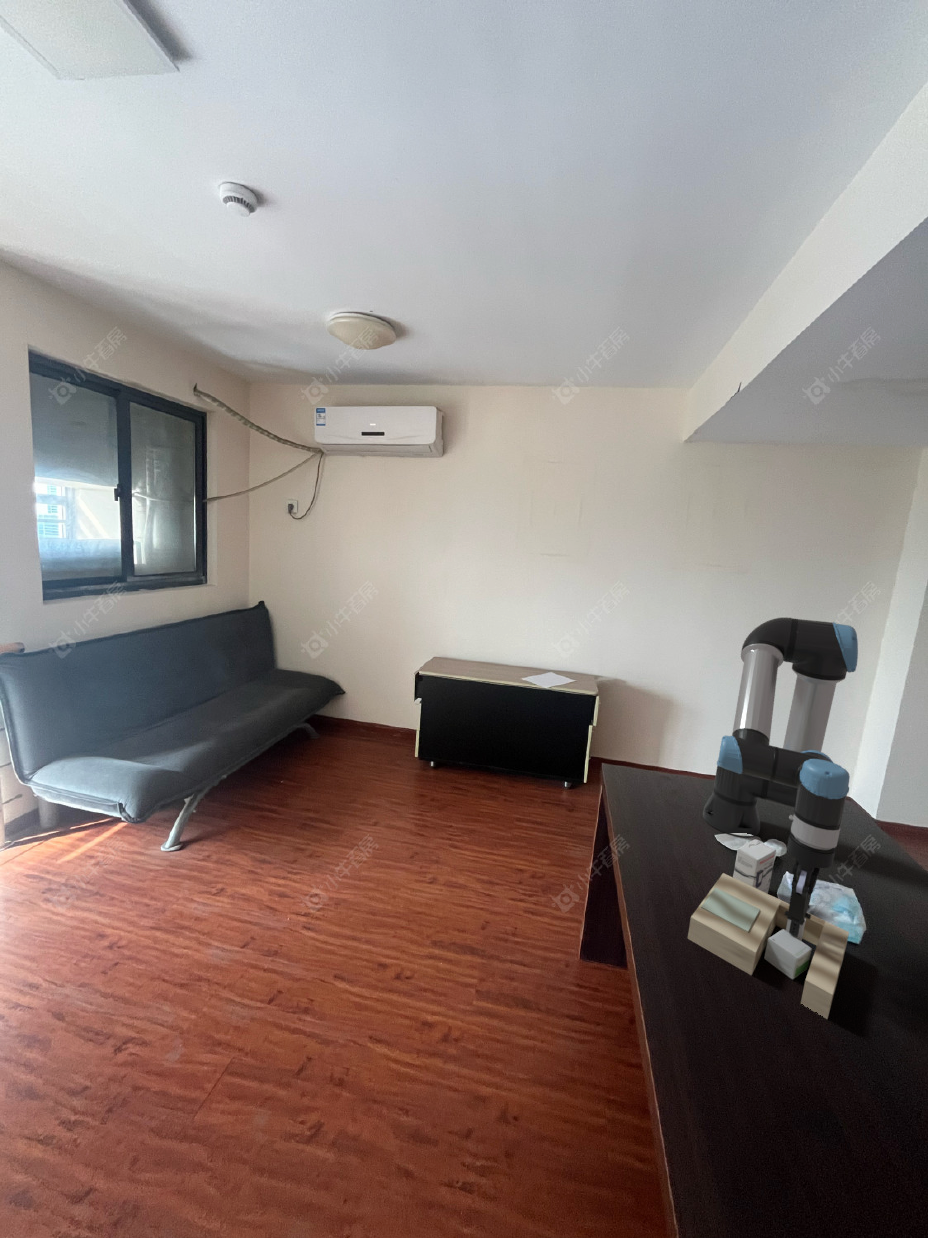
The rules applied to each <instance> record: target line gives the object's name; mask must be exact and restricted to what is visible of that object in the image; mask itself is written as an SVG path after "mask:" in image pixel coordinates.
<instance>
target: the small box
mask: <svg viewBox="0 0 928 1238" xmlns="http://www.w3.org/2000/svg"><path fill="white" fill-rule="evenodd" d="M812 950H813V948H812V947H810V946H809V945H808V944H806V943H804V942H803V941H800V940H799V939H797V938H796V937H794V936H793V935H791V934H790V933H788V932H787V931H786V930H784V929H782V928H781V930H779V931H778V932H776V933H775V934H773V935H772V936H770V938H768V942H767V944H766V946H765V953H764V960H766V961H767V962H768V963H769V964H771V965H772V966H773V967H775V968H776V969H777V970H779V971H780V972H781V973H783V974H784V975H786V976H787V977H788V978H789V979H791V980H794V979H795V978H797V977H799V975H801V974H803V973H804V972H805V971H806V970H808V968H809V964H810V959H811V954H812Z"/></svg>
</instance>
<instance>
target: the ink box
mask: <svg viewBox="0 0 928 1238" xmlns="http://www.w3.org/2000/svg"><path fill="white" fill-rule="evenodd" d="M776 851H777V850H776V849H774V848H773V847H771V846H769V845H768V844H765V843H764V842H762V841H760V840H759V839H753V840H751V841H749V842H746V843H745V844H743V845H742V846H740V847H738V848H737V851H736V852H737V853H736V859H735V863H734V870H733V874H732V877H733V878H735V879H737V880H739V881H741V882H743V883H746V884H748V885H750V886H752V887H754V888H756V889H758V890H761V891H763V892H765V893H767V894H768V893H769V890H770V889H769V888H770V885H771V879H772V876H773V869H774V864H775V857H776Z"/></svg>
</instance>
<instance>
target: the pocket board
mask: <svg viewBox="0 0 928 1238" xmlns="http://www.w3.org/2000/svg"><path fill="white" fill-rule="evenodd" d="M789 905H790V903H788V902H786V901H784V900H783V899H782V900H781V899H780V898H777V897H775V896H773V895H770V894H767V893H765V892H763V891H761V890H758V889H756V888H754V887H752V886H750V885H748V884H746V883H743V882H741V881H739V880H737V879H735V878H733V876H731V875H728V874H726V873H724V872H723V873H722V874H721V875H720V877H719V878H718V879H717V881H716V882H715V883H714V885H713V886H712V888H711V889H710V890H709V892H708V893H707V894H706V896H705V897H704V899H703V900H702V901H701V903H700V904H699V905H698V907H697V908H696V909H695V910H694V912H693V913H692V914H691V916H690V919H689V920H690V921H689V928H688V934H687V939H688V940H689V941H691V942H693V943H695V944H696V945H698V946H699V947H701V948H703V949H705V950H707V951H709V952H710V953H712V954H713V955H715V956H716V957H719V958H721V959H722V960H724V961H726V962H727V963H729V964H731V965H732V966H735V967H736V968H738V969H739V970H741V971H743V972H745V973H747V974H748V975H749V976H752V975H753V974H754V971H755V970H756V966H757V965H758V963H759V961H760V959H761V956H762V954H763V952H764V951H765V949H766V947H767V942H768V938H770V937H771V935H772V934H773V931H774V929H775V927H776V926H777V927H778V928H780V929H781V930H782V929H784V930H785V931H786V927H787V922H788V919H787V916H786V915H784V914H785V911H789ZM807 913H808V914H810V915H811V918H810V919H808V918H806V917H805V919H806V921H805V927H804V932H803V937H802V940H804V941H806V942H808V943H810V944H812V945H814V946H815V947H816V948H815V951H814V954H813V956H812V959H811V962H810V965H809V967H808V968H809V969H808V971H807V975H806V978H805V980H804V985H803V990H802V994H801V1000H800V1005H801V1004H803V1005H804V1006H803V1005H802V1006H803V1007H805V1008H807V1007H808V1008H809V1009H808V1008H807V1009H808V1010H810V1009H811V1010H810V1011H812V1012H814V1013H815V1012H817V1013H818V1014H817V1013H816V1014H817V1015H819V1016H820V1015H821V1017H822V1016H823V1017H822V1018H824V1019H826V1020H828V1018H829V1015H830V1010H831V1008H832V1007H831V1006H832V1005H833V1004H832V1003H833V1000H834V995H835V992H836V988H837V984H838V980H839V976H840V971H841V967H842V965H843V962H844V961H843V960H844V957H845V952H846V948H847V945H848V940H849V935H850V932H849V931H848V930H845V929H843V928H841V927H839V926H837V925H835V924H833V923H831V922H829V921H827V920H824V919H822V918H820V917H818V916H816V915H813V914H812V913H809V912H807Z"/></svg>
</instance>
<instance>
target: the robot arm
mask: <svg viewBox="0 0 928 1238" xmlns="http://www.w3.org/2000/svg"><path fill="white" fill-rule="evenodd" d="M858 642H859V641H858V635H857V631H856V629H855V628H854V627H853V626H851V625H848V624H841V623H836V622H835V621H834V622H831V621H821V620H820V621H819V620H810V619H801V618H799V619H798V618H792V617H777V618H773V619H769V620H767V621H765V622H763V623H761V624H760V625H758V626H756V627H755V628H754V629H753V630H752V631H751V632H750V633H749V634H748V635H747V637H746V638H745V640H744V642H743V644H742V648H741V650H740V658H741V660H742V662H743V665H742V666H743V667H742V673H741V677H740V678H741V679H740V684H739V689H738V690H739V691H738V697H737V702H736V708H735V709H736V710H735V715H734V716H735V717H734V721H733V728H732V733H731V735H723V736H722V737H721V742H720V748H719V754H718V758H717V761H716V765H717V767H716V772H715V778H714V784H713V788H712V789H713V790H712V793H711V795H710V796H709V798H708V800H707V801H706V803H705V805H704V807H703V811H702V818H703V820H704V821H705V822H706V823H707V824H708V825H709V826H711V827H713V828H714V829H715V830H718V831H720V832H723V833H725V834H728V833H747V834H752V835H755V836H754V837H756V836H758V835H759V833H760V829H761V820H760V816H759V810H758V805H757V804H758V799H761V800H765V801H768V802H773V803H776V804H779V805H783V806H787V807H790V808H794V809H793V814H789V816H788V818H789V820H791V821H792V822H791V825H790V833H789V834H788V839H787V846H786V849H787V850H786V851H787V852H788V854H789V855H790V856H791V857H793V859H795V860H796V861H795V863H794V864H793V866H792V867H793V868H792V874H793V876H792V881H791V885H790V886H791V893H790V898H789V899H790V900H789V904H790V905H789V911H785V914H784V915H786V916H787V919H788V922H787V927H786V930H785V931H787V932H788V933H790V934H791V935H793V936H794V937H796V938H797V939H799V940H800V941H802V940H803V939H802V937H803V932H804V927H805V921H806V919H805V917H806V918H808V919H810V918H811V915H810V914H811V913H809V912H808V910H809V909H810V908H811V907H810V903H811V898H812V894H813V892H814V889H815V887H816V884H817V881H818V877H819V876H820V872H821V870H823V869H824V870H825V869H829V868H831V867H833V864H834V860H835V859H834V858H835V855H836V848H837V845H838V843H839V842H838V841H839V837H840V834H841V833H840V832H841V823H842V819H843V813H844V809H845V804H846V800H847V796H848V793H849V791H850V786H849V784H850V773H849V771H848V770H847V769H846V768H844V767H842V766H841V765H839V764H837V763H835V762H834V761H833V760H832V759H831V757H829V755H827V754H826V753H824V752H822V749H823V744H824V740H825V737H826V732H827V728H828V724H829V723H828V722H829V718H830V714H831V711H832V710H831V709H832V705H833V700H834V698H835V697H834V696H835V691H836V687H837V684H838V683H840V682H842V681H844V680H845V679H846V677H847V673H854V672H856V670H857V667H858V656H859V652H858V651H859V648H858V647H859V646H858V645H859V643H858ZM784 662H786V663H791V670H792V671H793V672H794V673H795V675H796V679H795V685H794V690H793V693H792V694H793V695H792V701H791V706H790V710H789V716H788V721H787V726H786V729H785V730H786V731H785V735H784V741H783V746H782V747H779V746H774V745H771V744H770V741H771V731H772V723H773V716H774V715H773V713H774V705H775V697H776V686H777V681H778V680H777V679H778V678H777V677H778V671H779V670H778V669H779V667H780V666H782V665H783V663H784ZM808 913H809V914H808ZM802 942H803V941H802Z"/></svg>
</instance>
